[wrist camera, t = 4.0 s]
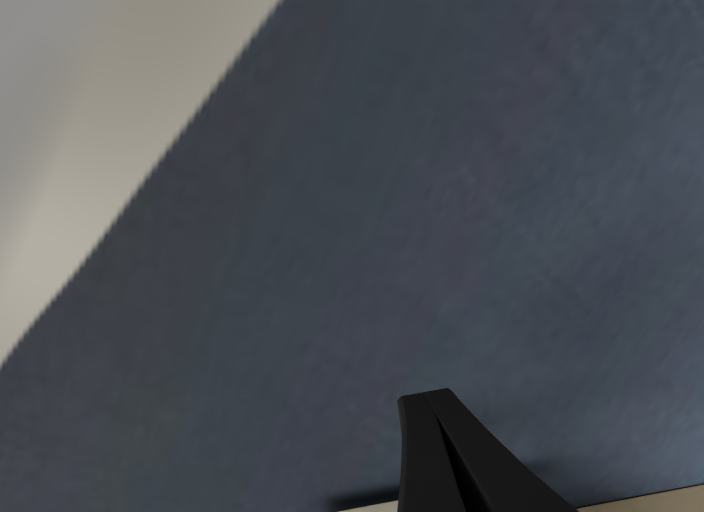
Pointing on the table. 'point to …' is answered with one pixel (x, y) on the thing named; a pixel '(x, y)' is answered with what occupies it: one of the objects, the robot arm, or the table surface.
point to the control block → (657, 502)
